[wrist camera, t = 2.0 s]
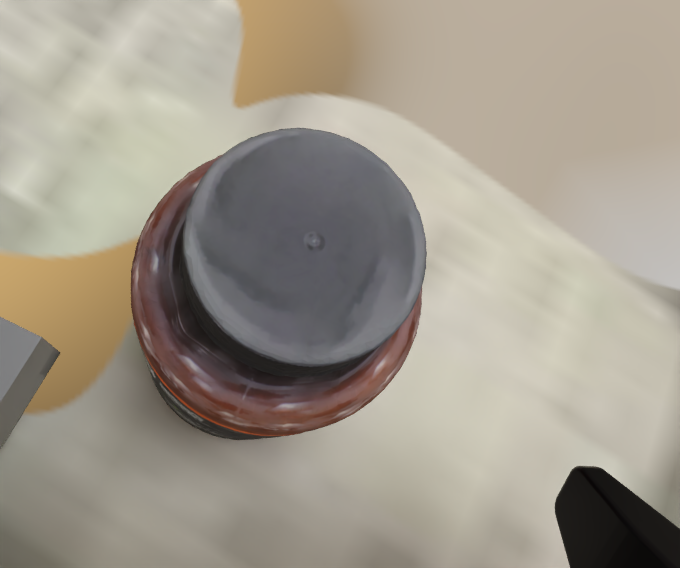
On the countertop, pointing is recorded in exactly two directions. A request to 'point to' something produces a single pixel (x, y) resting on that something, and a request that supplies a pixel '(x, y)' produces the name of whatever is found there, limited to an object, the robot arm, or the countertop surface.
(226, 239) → the supplement bottle
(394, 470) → the countertop surface
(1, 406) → the bin
